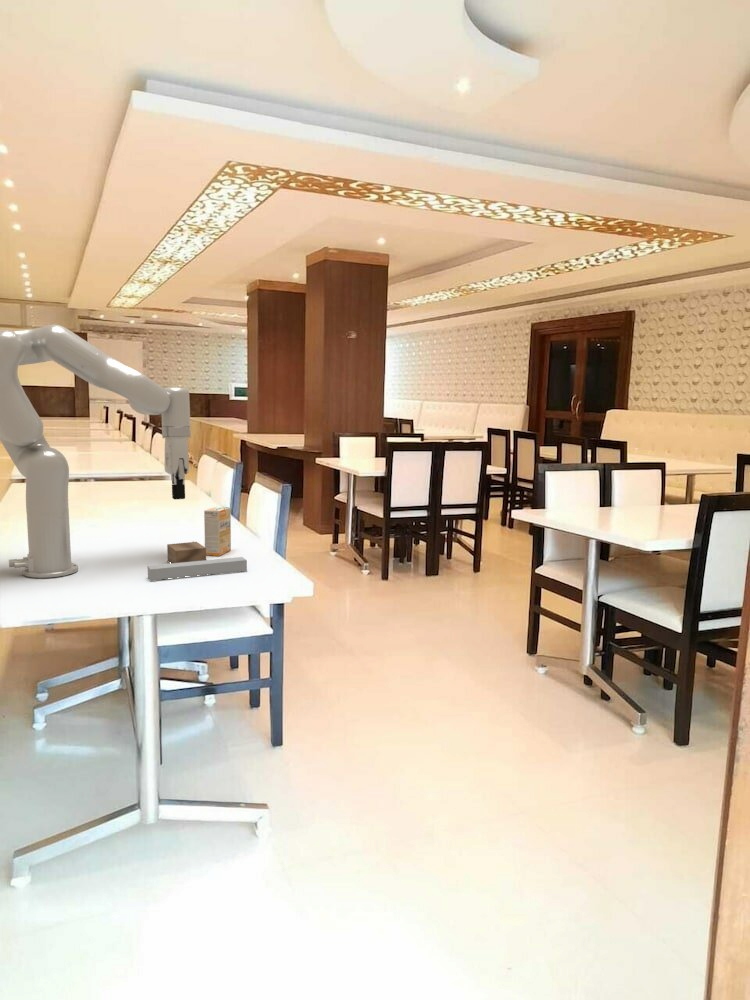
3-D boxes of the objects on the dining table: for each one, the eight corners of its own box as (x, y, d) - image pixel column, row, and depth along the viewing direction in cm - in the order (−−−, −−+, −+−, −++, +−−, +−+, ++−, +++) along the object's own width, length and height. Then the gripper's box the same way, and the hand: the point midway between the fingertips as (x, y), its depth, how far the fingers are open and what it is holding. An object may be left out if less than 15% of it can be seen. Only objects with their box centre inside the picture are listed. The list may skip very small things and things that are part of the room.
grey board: (150, 581, 166) (150, 569, 166) (147, 577, 170) (147, 565, 169) (246, 571, 177) (246, 560, 177) (242, 568, 181) (242, 556, 180)
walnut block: (176, 569, 179) (175, 550, 178) (167, 562, 187) (167, 544, 186) (206, 566, 183) (206, 547, 182) (196, 559, 191) (196, 541, 190)
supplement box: (220, 556, 193) (219, 510, 192) (204, 555, 194) (203, 510, 193) (231, 550, 201) (231, 506, 200) (216, 549, 202) (215, 505, 201)
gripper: (157, 431, 193) (159, 496, 196) (167, 434, 180) (170, 503, 183) (184, 431, 197) (186, 494, 199) (196, 433, 184) (198, 501, 186)
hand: (178, 498), depth 191 cm, fingers closed
